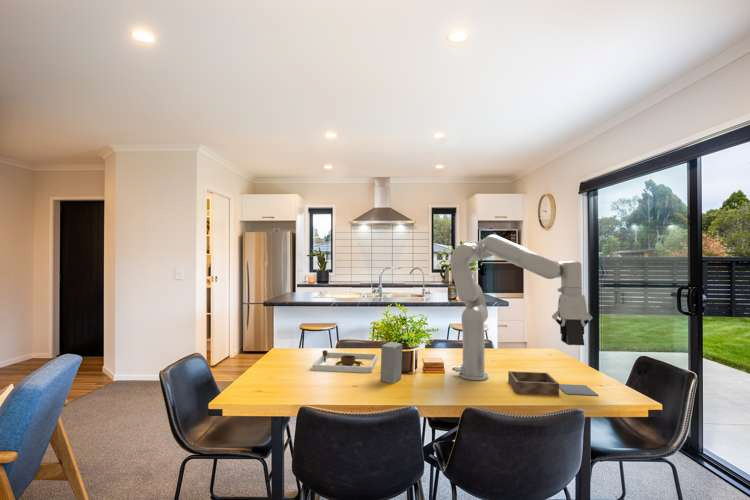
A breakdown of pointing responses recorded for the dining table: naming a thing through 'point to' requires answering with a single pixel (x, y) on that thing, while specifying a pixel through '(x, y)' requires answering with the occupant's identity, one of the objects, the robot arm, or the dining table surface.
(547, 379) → the walnut crate
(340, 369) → the serving tray rim
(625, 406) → the dining table surface
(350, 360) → the place setting
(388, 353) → the skincare box
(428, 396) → the dining table surface
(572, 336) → the door stopper
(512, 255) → the robot arm
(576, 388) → the mat
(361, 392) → the dining table surface
